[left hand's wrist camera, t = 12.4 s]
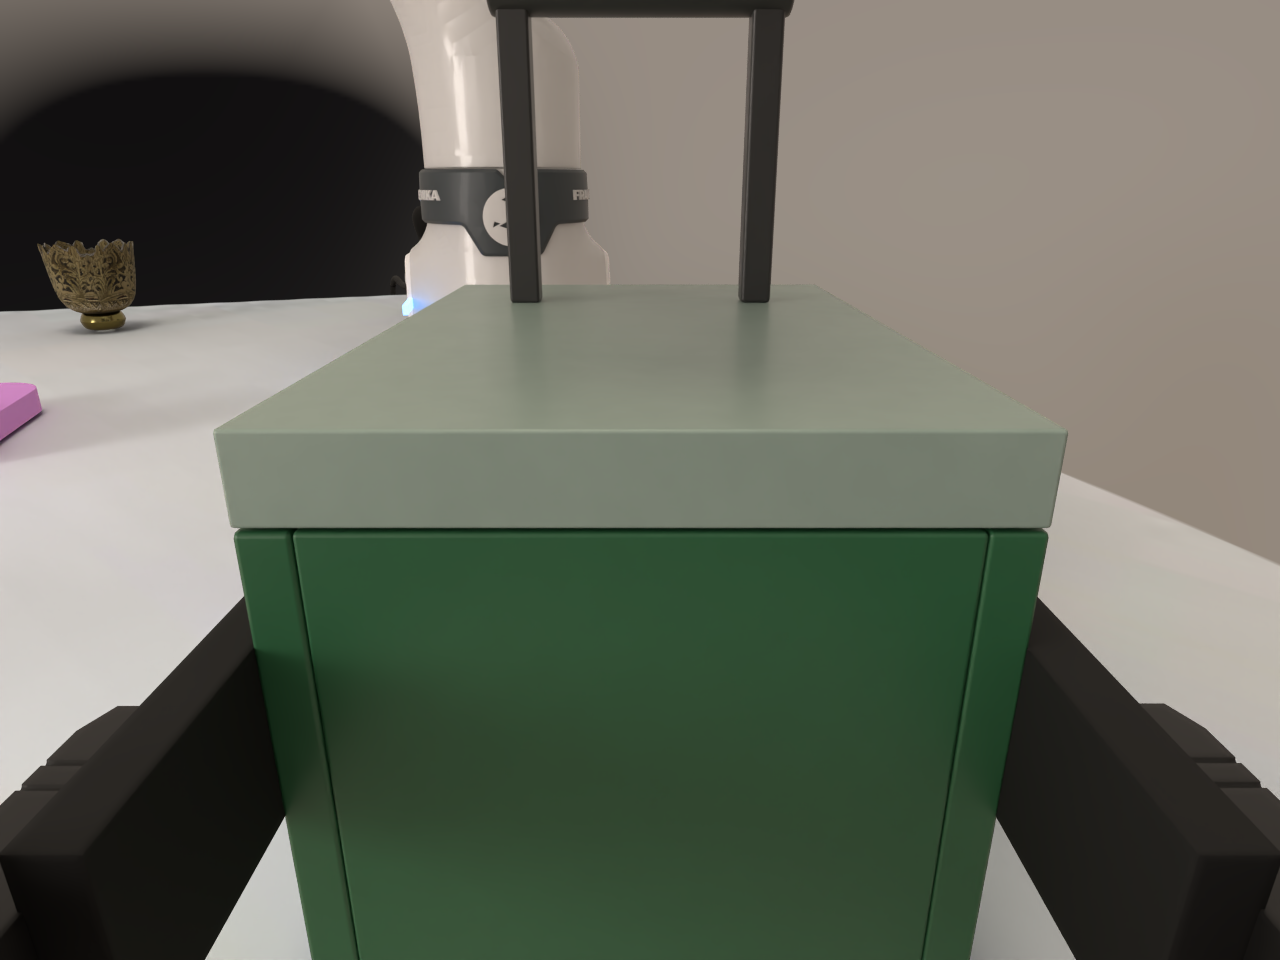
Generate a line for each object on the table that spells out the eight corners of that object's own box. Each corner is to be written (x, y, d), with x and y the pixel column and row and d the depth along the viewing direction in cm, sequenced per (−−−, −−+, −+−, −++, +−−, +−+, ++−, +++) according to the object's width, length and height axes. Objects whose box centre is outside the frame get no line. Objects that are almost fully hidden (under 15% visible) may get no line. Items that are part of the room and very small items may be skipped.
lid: (466, 329, 24) (441, -26, 20) (812, 329, 24) (838, -26, 20) (229, 529, 10) (48, -441, 7) (1052, 529, 10) (1234, -440, 7)
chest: (483, 630, 26) (461, 334, 23) (796, 630, 26) (818, 335, 23) (329, 1072, 13) (228, 533, 10) (951, 1073, 13) (1052, 534, 10)
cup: (52, 337, 74) (29, 245, 71) (64, 325, 80) (43, 240, 77) (147, 331, 77) (129, 242, 74) (151, 319, 83) (135, 237, 80)
